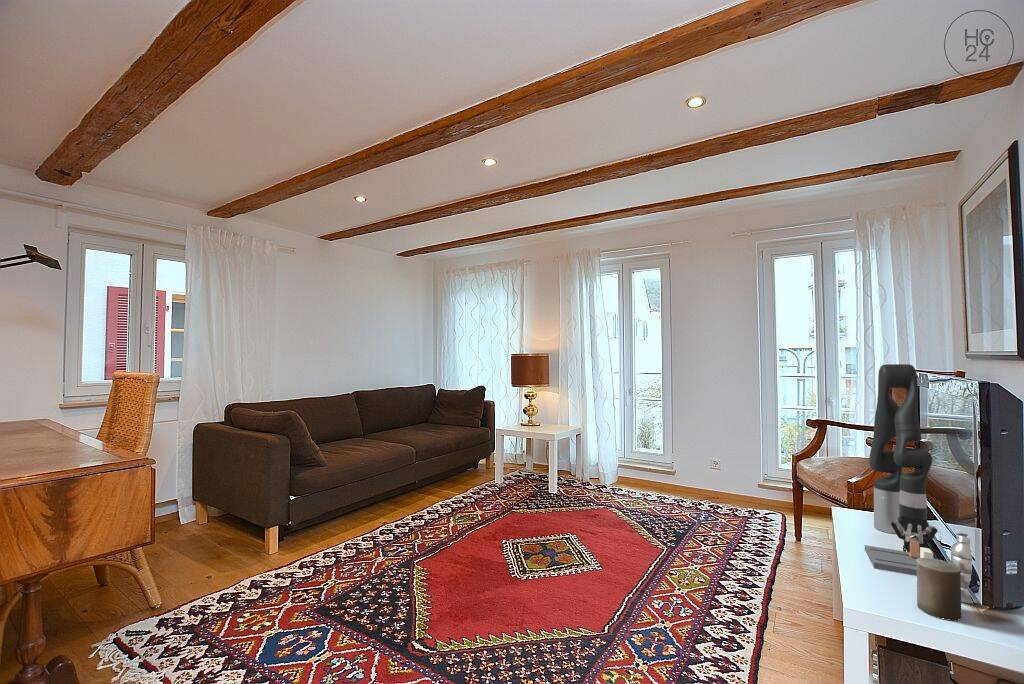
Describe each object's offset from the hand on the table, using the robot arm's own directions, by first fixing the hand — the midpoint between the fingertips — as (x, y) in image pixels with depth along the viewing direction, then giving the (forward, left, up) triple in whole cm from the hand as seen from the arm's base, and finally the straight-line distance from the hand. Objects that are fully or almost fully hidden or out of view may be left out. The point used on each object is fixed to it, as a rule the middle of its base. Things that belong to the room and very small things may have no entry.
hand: (913, 551), depth 168 cm
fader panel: (+6, +1, -4) cm, 7 cm away
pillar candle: (+28, +24, -4) cm, 37 cm away
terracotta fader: (0, 0, -1) cm, 1 cm away
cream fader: (+5, +7, -1) cm, 9 cm away
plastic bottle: (+14, +23, -4) cm, 27 cm away
